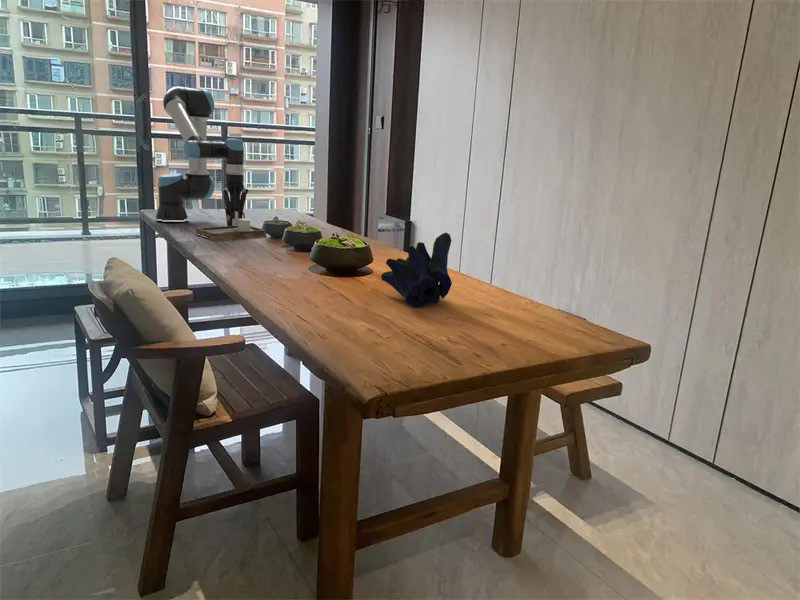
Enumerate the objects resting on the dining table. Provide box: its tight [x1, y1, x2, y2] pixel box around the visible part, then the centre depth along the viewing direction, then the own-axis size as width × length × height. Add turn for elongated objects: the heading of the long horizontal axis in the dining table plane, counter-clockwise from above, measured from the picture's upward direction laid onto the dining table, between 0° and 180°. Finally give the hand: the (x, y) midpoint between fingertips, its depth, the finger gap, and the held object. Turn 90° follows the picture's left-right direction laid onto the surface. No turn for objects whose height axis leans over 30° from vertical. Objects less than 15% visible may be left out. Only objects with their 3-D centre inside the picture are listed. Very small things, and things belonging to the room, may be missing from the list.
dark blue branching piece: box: [380, 232, 453, 309], centre depth 196 cm, size 21×26×30 cm
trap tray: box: [195, 225, 267, 241], centre depth 283 cm, size 17×26×3 cm, turn 135°
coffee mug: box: [224, 206, 246, 226], centre depth 300 cm, size 12×9×10 cm
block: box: [238, 218, 251, 231], centre depth 287 cm, size 5×5×5 cm
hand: (235, 225), depth 287 cm, fingers closed
